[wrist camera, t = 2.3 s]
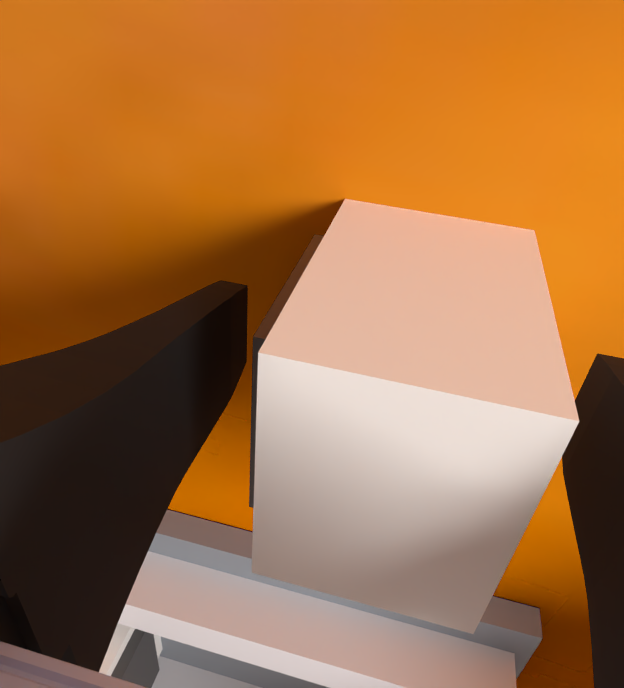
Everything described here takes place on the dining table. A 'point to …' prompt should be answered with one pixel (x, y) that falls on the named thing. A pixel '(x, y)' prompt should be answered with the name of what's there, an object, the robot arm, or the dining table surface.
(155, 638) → the rail plate
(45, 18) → the dining table surface
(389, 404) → the block
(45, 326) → the dining table surface
